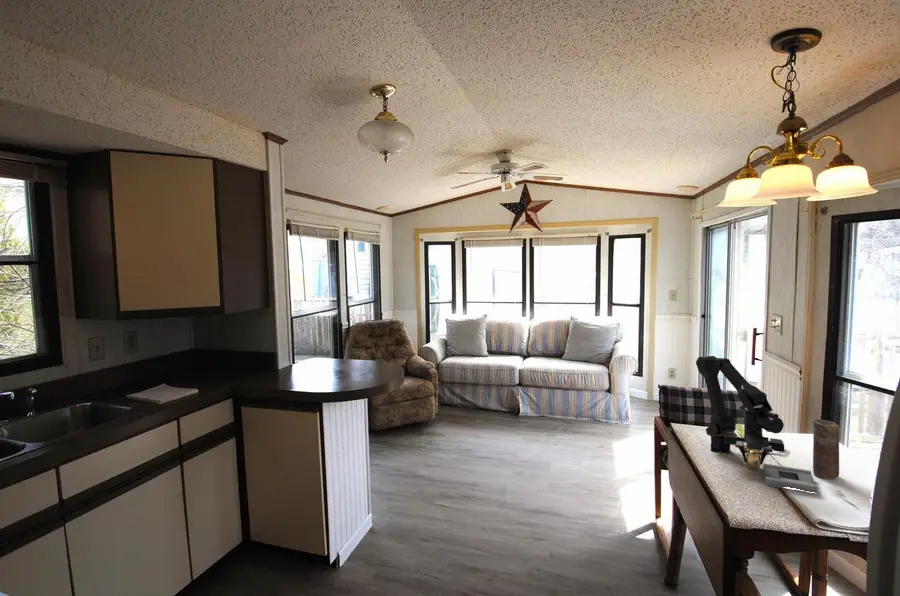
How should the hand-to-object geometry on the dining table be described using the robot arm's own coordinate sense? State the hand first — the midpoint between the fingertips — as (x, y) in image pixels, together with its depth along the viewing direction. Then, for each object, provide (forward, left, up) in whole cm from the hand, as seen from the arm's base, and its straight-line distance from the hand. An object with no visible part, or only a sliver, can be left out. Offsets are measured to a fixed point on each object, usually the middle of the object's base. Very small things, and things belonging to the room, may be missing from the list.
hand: (753, 463), depth 171 cm
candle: (+22, +3, -2) cm, 22 cm away
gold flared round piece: (0, 0, -1) cm, 1 cm away
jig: (+10, -8, -2) cm, 13 cm away
